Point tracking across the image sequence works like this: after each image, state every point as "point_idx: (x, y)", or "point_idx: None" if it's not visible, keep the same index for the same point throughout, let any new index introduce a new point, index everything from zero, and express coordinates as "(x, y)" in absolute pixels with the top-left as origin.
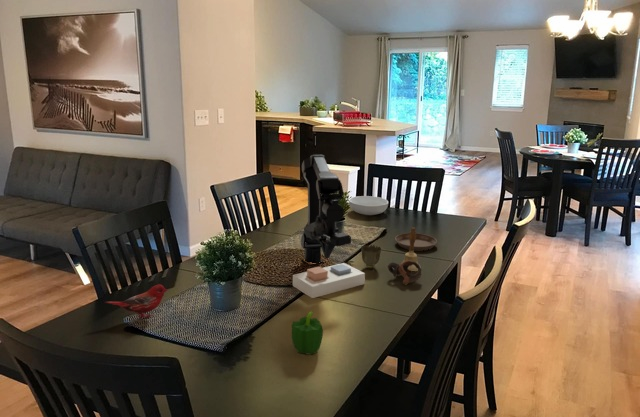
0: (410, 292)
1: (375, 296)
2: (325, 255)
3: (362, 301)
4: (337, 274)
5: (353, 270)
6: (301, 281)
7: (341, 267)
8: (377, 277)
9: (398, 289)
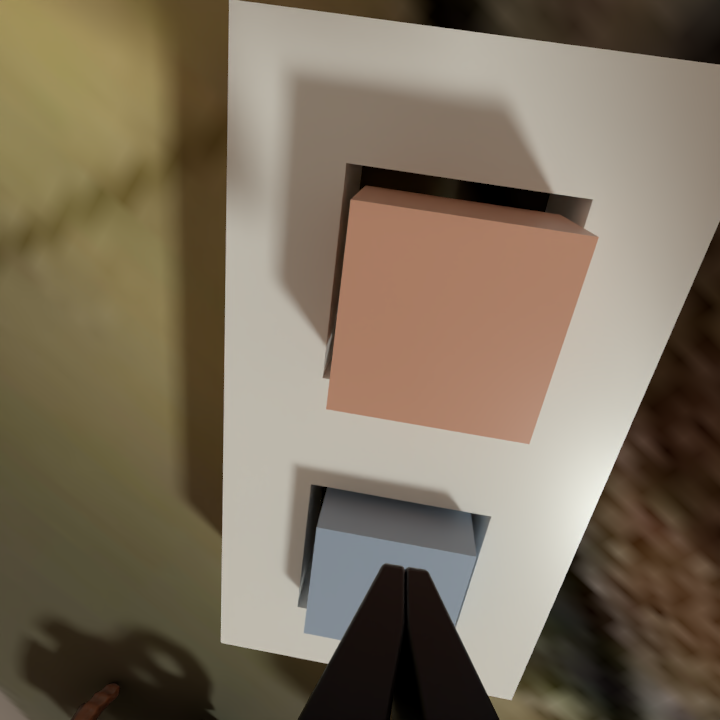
0: (12, 628)
1: (46, 472)
2: (391, 605)
3: (10, 351)
4: (354, 500)
5: None
6: (519, 43)
7: None
8: (285, 674)
9: (75, 622)
